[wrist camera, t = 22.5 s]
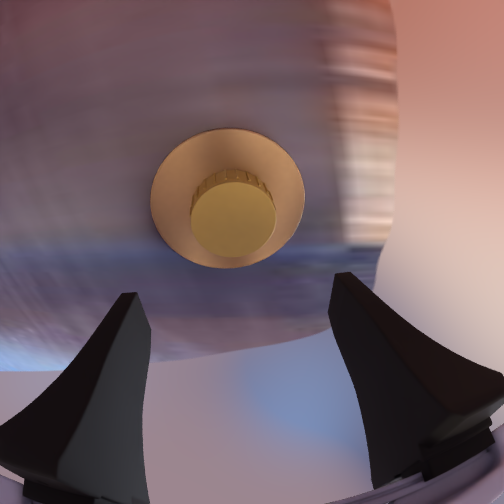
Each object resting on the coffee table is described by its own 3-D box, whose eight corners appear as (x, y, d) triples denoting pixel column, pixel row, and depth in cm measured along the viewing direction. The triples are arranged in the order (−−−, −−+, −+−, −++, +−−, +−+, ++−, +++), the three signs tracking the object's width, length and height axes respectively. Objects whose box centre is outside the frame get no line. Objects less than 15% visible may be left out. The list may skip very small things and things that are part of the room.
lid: (270, 238, 19) (275, 255, 17) (195, 242, 18) (193, 261, 17) (273, 166, 16) (279, 178, 15) (187, 171, 16) (184, 184, 14)
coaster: (185, 279, 21) (185, 283, 20) (127, 160, 15) (125, 162, 15) (313, 242, 20) (315, 245, 20) (284, 108, 15) (286, 109, 14)
